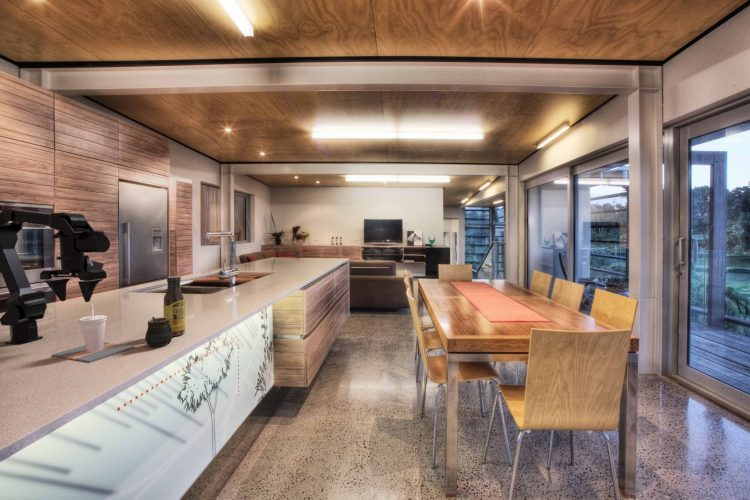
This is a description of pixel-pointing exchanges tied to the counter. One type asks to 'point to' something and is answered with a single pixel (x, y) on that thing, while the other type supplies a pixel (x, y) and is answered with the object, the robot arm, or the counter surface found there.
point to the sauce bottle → (175, 306)
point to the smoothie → (93, 331)
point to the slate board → (85, 356)
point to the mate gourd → (158, 332)
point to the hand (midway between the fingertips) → (75, 301)
